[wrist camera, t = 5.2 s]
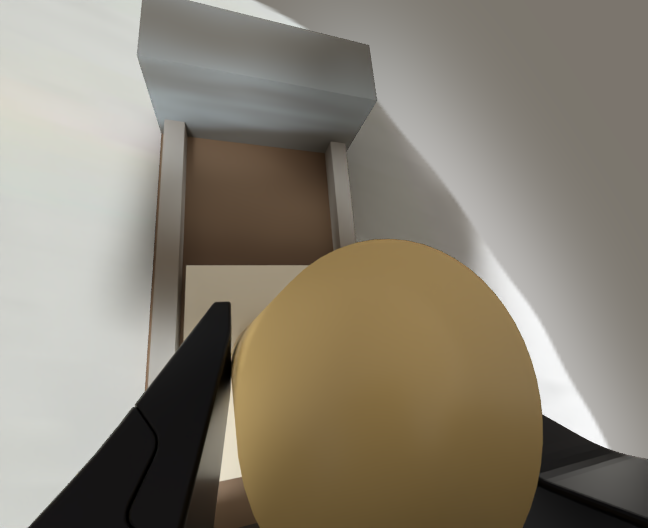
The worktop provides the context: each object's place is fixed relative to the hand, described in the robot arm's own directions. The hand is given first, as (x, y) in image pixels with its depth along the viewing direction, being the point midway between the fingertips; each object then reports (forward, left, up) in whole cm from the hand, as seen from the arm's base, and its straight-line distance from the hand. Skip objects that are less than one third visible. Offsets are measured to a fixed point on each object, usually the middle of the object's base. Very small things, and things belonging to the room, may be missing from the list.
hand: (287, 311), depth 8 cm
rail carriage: (-1, 0, -5) cm, 5 cm away
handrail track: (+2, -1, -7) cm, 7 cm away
